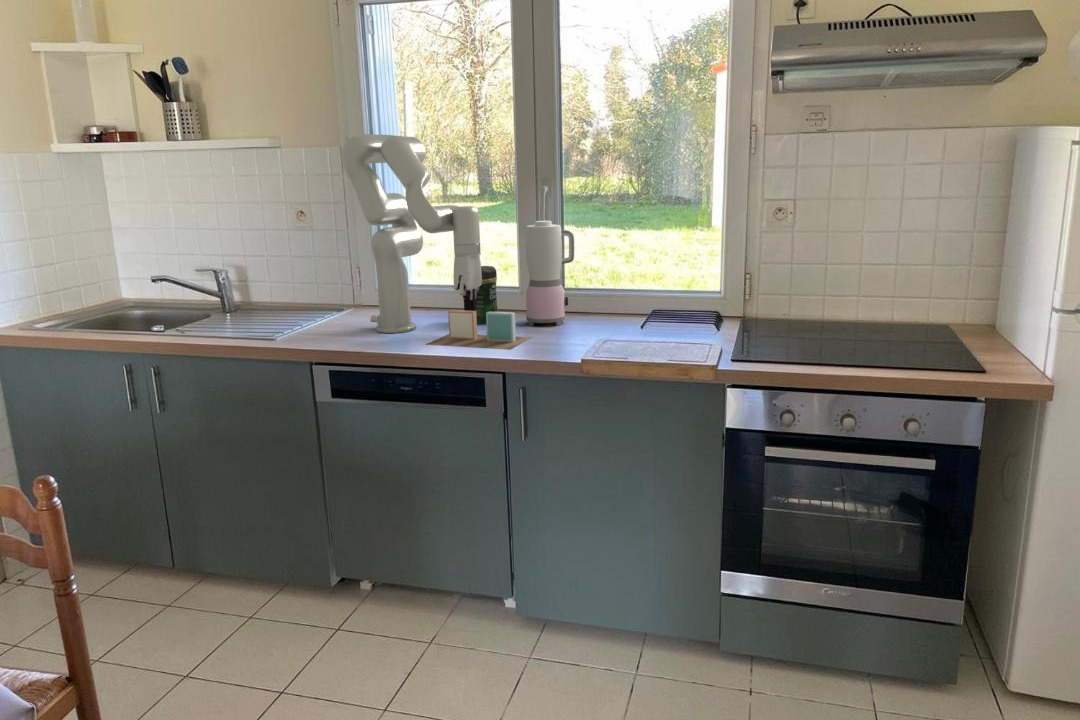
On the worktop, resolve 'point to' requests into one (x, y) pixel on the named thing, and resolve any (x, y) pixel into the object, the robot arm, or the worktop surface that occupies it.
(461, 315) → the terracotta tile
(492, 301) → the coffee jar
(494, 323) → the grey-blue tile
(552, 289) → the blender
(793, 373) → the worktop surface
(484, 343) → the walnut board
